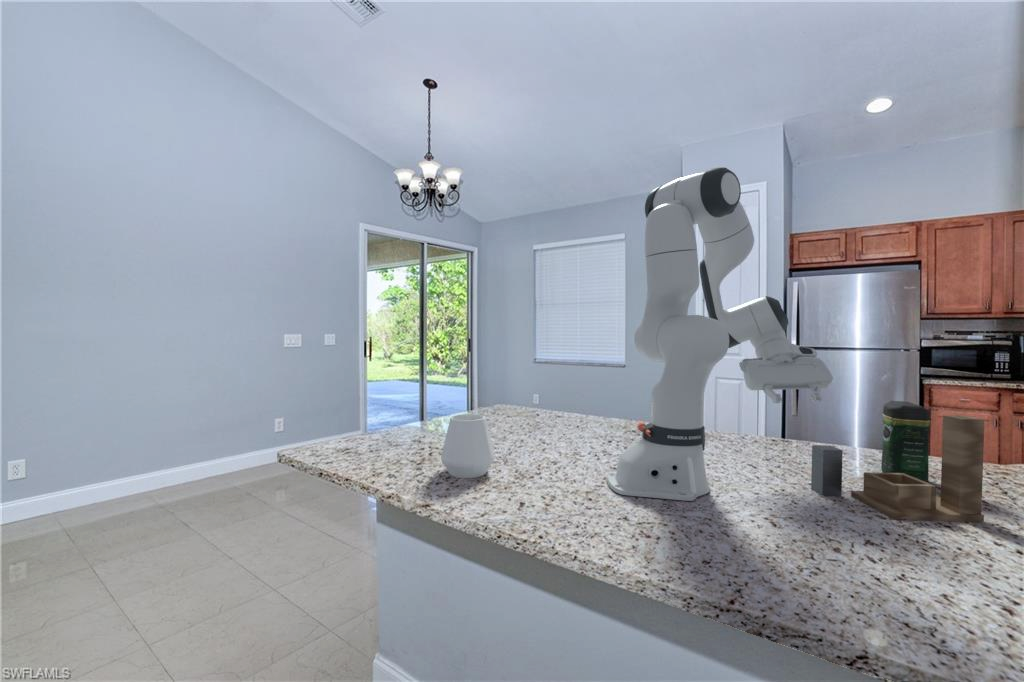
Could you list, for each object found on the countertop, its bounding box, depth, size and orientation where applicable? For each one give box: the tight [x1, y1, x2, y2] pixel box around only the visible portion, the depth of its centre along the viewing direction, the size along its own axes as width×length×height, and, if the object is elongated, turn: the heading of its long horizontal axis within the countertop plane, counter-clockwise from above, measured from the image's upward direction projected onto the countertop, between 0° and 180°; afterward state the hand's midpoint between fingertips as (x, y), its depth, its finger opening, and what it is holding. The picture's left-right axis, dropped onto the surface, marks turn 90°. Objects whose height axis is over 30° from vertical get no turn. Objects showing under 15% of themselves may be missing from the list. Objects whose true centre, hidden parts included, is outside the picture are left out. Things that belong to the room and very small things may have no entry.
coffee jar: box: [880, 400, 931, 483], centre depth 110 cm, size 10×8×19 cm
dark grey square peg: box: [810, 444, 843, 497], centre depth 100 cm, size 4×4×10 cm
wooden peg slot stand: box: [850, 414, 986, 523], centre depth 91 cm, size 16×12×19 cm
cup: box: [440, 413, 496, 479], centre depth 113 cm, size 13×13×14 cm
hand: (798, 401), depth 112 cm, fingers open, 8 cm apart
